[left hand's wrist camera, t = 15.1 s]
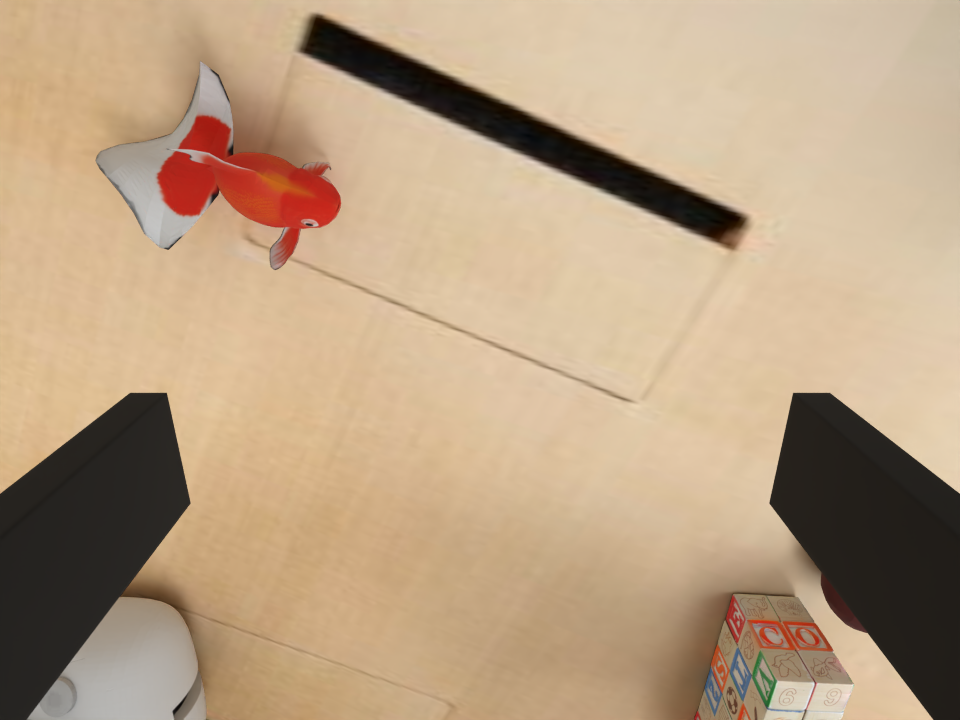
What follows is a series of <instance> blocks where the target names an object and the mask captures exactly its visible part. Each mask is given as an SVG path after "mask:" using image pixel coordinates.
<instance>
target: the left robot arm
mask: <svg viewBox="0 0 960 720" xmlns="http://www.w3.org/2000/svg"><path fill="white" fill-rule="evenodd" d="M189 505H190V498H189V494H188V489H187V484H186V480H185V475H184V471H183V466H182V461H181V457H180V452H179V447H178V443H177V438H176V433H175V429H174V424H173V420H172V415H171V410H170V406H169V401H168V396H167V393H130V394H128V395H127V396H126V397H124V398H123V399H122V400H120V401H119V402H118V403H117V404H115V405H114V406H113V407H111V408H110V409H109V410H108V411H106V412H105V413H104V414H102V415H101V416H100V417H99V418H97V419H96V420H95V421H93V422H92V423H91V424H90V425H88V426H87V427H86V428H84V429H83V430H82V431H81V432H79V433H78V434H77V435H75V436H74V437H73V438H72V439H70V440H69V441H68V442H66V443H65V444H64V445H63V446H61V447H60V448H59V449H57V450H56V451H55V452H53V453H52V454H51V455H50V456H48V457H47V458H46V459H44V460H43V461H42V462H41V463H39V464H38V465H37V466H35V467H34V468H33V469H32V470H30V471H29V472H28V473H26V474H25V475H24V476H23V477H21V478H20V479H19V480H17V481H16V482H15V483H14V484H12V485H11V486H10V487H8V488H7V489H6V490H5V491H3V492H2V493H1V494H0V720H27V718H28V717H29V716H30V715H31V713H32V712H33V711H34V709H35V708H36V707H37V705H38V704H39V703H40V701H41V700H42V699H43V697H44V696H45V695H46V693H47V692H48V691H49V689H50V688H51V687H52V685H53V684H54V683H55V682H56V680H57V679H58V678H59V676H60V675H61V674H62V672H63V671H64V670H65V668H66V667H67V666H68V664H69V663H70V662H71V660H72V659H73V658H74V656H75V655H76V654H77V653H78V651H79V650H80V649H81V647H82V646H83V645H84V643H85V642H86V641H87V639H88V638H89V637H90V635H91V634H92V633H93V631H94V630H95V629H96V627H97V626H98V625H99V623H100V622H101V621H102V620H103V618H104V617H105V616H106V614H107V613H108V612H109V610H110V609H111V608H112V606H113V605H114V604H115V602H116V601H117V600H118V598H119V597H120V596H121V594H122V593H123V592H124V590H125V589H126V588H127V587H128V585H129V584H130V583H131V581H132V580H133V579H134V577H135V576H136V575H137V573H138V572H139V571H140V569H141V568H142V567H143V565H144V564H145V563H146V561H147V560H148V559H149V558H150V556H151V555H152V554H153V552H154V551H155V550H156V548H157V547H158V546H159V544H160V543H161V542H162V540H163V539H164V538H165V536H166V535H167V534H168V532H169V531H170V530H171V528H172V527H173V526H174V525H175V523H176V522H177V521H178V519H179V518H180V517H181V515H182V514H183V513H184V511H185V510H186V509H187V507H188V506H189ZM770 505H771V506H772V507H773V509H774V510H775V511H776V513H777V514H778V515H779V517H780V518H781V519H782V521H783V522H784V523H785V525H786V526H787V527H788V528H789V530H790V531H791V532H792V534H793V535H794V536H795V538H796V539H797V540H798V542H799V543H800V544H801V546H802V547H803V548H804V550H805V551H806V552H807V554H808V555H809V556H810V558H811V559H812V560H813V561H814V563H815V564H816V565H817V567H818V568H819V569H820V571H821V572H822V573H823V575H824V576H825V577H826V579H827V580H828V581H829V583H830V584H831V585H832V587H833V588H834V589H835V590H836V592H837V593H838V594H839V596H840V597H841V598H842V600H843V601H844V602H845V604H846V605H847V606H848V608H849V609H850V610H851V612H852V613H853V614H854V616H855V617H856V618H857V620H858V621H859V622H860V623H861V625H862V626H863V627H864V629H865V630H866V631H867V633H868V634H869V635H870V637H871V638H872V639H873V641H874V642H875V643H876V645H877V646H878V647H879V649H880V650H881V651H882V653H883V654H884V655H885V656H886V658H887V659H888V660H889V662H890V663H891V664H892V666H893V667H894V668H895V670H896V671H897V672H898V674H899V675H900V676H901V678H902V679H903V680H904V682H905V683H906V684H907V685H908V687H909V688H910V689H911V691H912V692H913V693H914V695H915V696H916V697H917V699H918V700H919V701H920V703H921V704H922V705H923V707H924V708H925V709H926V711H927V712H928V713H929V715H930V716H931V717H932V718H933V720H960V494H959V493H958V492H957V491H955V490H954V489H953V488H952V487H950V486H949V485H948V484H946V483H945V482H944V481H943V480H941V479H940V478H939V477H937V476H936V475H935V474H934V473H932V472H931V471H930V470H928V469H927V468H926V467H925V466H923V465H922V464H921V463H919V462H918V461H917V460H916V459H914V458H913V457H912V456H910V455H909V454H908V453H907V452H905V451H904V450H903V449H901V448H900V447H899V446H897V445H896V444H895V443H894V442H892V441H891V440H890V439H888V438H887V437H886V436H885V435H883V434H882V433H881V432H879V431H878V430H877V429H876V428H874V427H873V426H872V425H870V424H869V423H868V422H867V421H865V420H864V419H863V418H861V417H860V416H859V415H858V414H856V413H855V412H854V411H852V410H851V409H850V408H849V407H847V406H846V405H845V404H843V403H842V402H841V401H840V400H838V399H837V398H836V397H834V396H833V395H832V394H830V393H793V396H792V401H791V406H790V410H789V415H788V420H787V424H786V429H785V433H784V438H783V443H782V447H781V452H780V457H779V461H778V466H777V470H776V475H775V480H774V484H773V489H772V494H771V498H770Z"/></svg>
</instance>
